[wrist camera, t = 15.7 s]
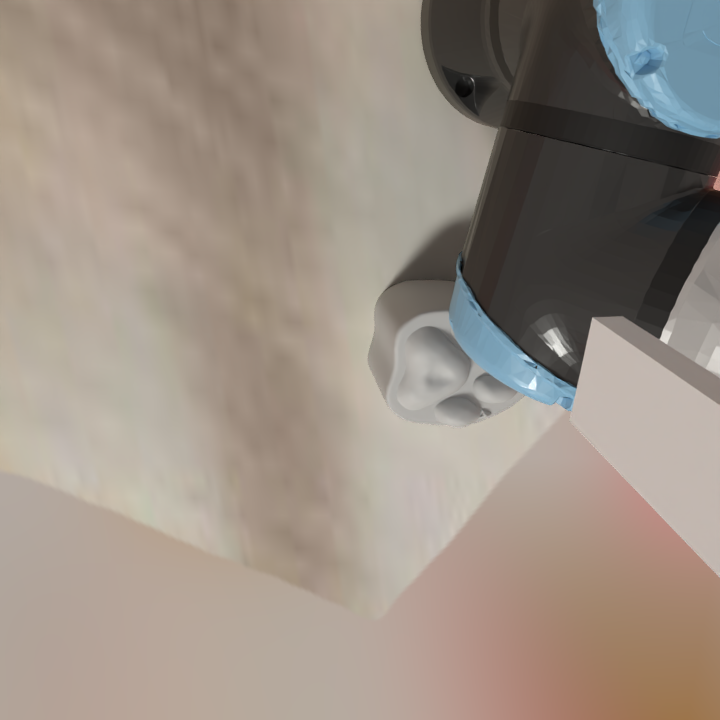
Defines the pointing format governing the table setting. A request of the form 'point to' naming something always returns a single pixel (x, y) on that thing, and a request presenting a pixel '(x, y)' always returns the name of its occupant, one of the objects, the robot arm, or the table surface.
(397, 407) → the lumpy-topped squat cylinder
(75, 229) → the table surface
